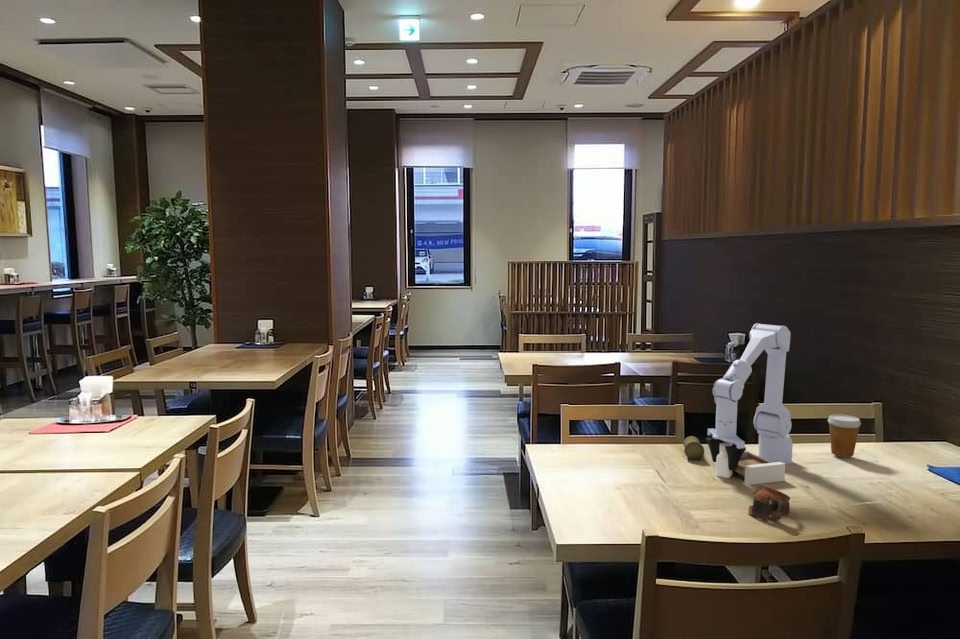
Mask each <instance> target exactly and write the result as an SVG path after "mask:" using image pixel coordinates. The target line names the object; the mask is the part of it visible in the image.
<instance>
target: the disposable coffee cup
mask: <svg viewBox="0 0 960 639" xmlns="http://www.w3.org/2000/svg"><path fill="white" fill-rule="evenodd" d="M827 422H828V424H829V425H828V426H829V437H830V439H829V440H830V450H831V451H830V452H831V454H833V455H835V456H838V457H844V458H850V457H854V454H855V449H856V445H857V439H858V436H859V431H860V427H861V425H862V422H861V420H860V418H858V417H856V416H853V415H848V414H847V415H846V414H831V415H829V417H828V419H827Z"/></svg>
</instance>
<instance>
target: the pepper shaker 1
mask: <svg viewBox="0 0 960 639" xmlns="http://www.w3.org/2000/svg"><path fill="white" fill-rule="evenodd" d="M683 447H684V456H685V457H686V458H688V460H690V461H699V460H701V459H703V457H704V455H705V448H704V446H703V444H702V443H701V442H700V440H699V439H698V438H697V437H696V436H692V435H690V436H687V437H686V438H685V439H684V441H683Z"/></svg>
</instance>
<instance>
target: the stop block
mask: <svg viewBox="0 0 960 639" xmlns="http://www.w3.org/2000/svg"><path fill="white" fill-rule="evenodd" d="M785 476H786V464H784V463H782V462H774V463H764V464H755V465H746V466H745V478H744V483H745V484H747V485H748V486H751V485H759V484H760V485H761V484H769V483H770V484H771V483H777V482H784V481H785Z"/></svg>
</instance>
